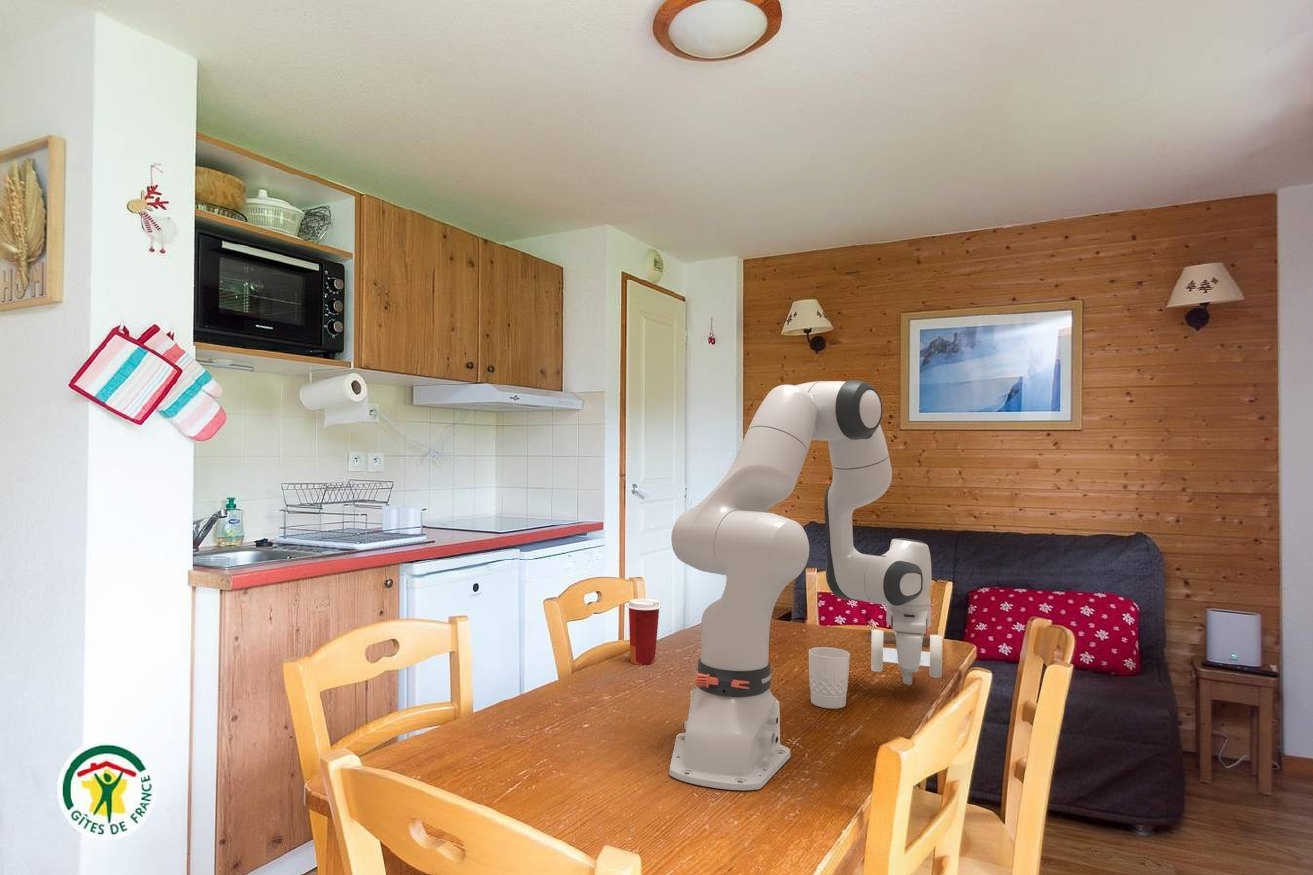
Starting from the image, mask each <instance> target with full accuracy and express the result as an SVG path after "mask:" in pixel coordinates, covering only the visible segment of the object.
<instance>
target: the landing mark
mask: <svg viewBox="0 0 1313 875" xmlns="http://www.w3.org/2000/svg"><path fill="white" fill-rule="evenodd" d="M883 663H887V664H889V663H890V664H898V654H897V648H895V647H894V648H893V647H883ZM898 665H899V664H898ZM919 667H927V668H930V651H922V650H921V658H920V665H919Z"/></svg>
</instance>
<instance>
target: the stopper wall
mask: <svg viewBox="0 0 1313 875" xmlns="http://www.w3.org/2000/svg"><path fill="white" fill-rule="evenodd" d="M871 638H872V630H870V629H869V630H868V632H867V642H871ZM883 644H892V645H897V644H896V636H895V633H894V632H889V631H884V632H883ZM922 646H930V635H926V634H924V635H923V642H922Z"/></svg>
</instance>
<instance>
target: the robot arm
mask: <svg viewBox="0 0 1313 875" xmlns="http://www.w3.org/2000/svg"><path fill="white" fill-rule="evenodd" d="M882 418H883V402H882V399H881V396H880V394H879V392H878V391H877V390H876V389H875V388H874V386H873V385H871V383H869V382H866V381H863V380H862V381H861V380H854V379H850V380H847V381H842V380H835V381H834V380H831V381H830V380H826V381H825V380H818V381H817V380H816V381H809V382H804V383H800V384H799V383H798V384H796V383H793V384H781V385H778V386H776V387H773V388H772V389H771V390H770V391H769V392H768V393H767V395H766V397H764V399H763V400H762V402H761V404H760V405H759V407H758V409H757V410H756V412H755V414H754V416H753V418H752V420H751V421H750V424H749V425H748V426H749V427H748V428H747V431H746V434H745V436H744V438H743V440H742V443H741V445H740V447H739V450H738V451H737V453H736V456H735V458H734V461H733V463H732V465H731V466H730V468H729V470H728V471H727V473H726V474H725V476H724V477H723V478H722V479H721V481H720V482H719V483H718V485H716V486H715V488H713V490H712V491H711V492H710V493H709V494H708V495H707V496H706V497H705V498H704V499H702V501H701V502H699V503H698V504H696V505H695V506H693V507H692V508H690V509H687V510H686V511H684V512H683V513H681V514H680V515H679V516H678V518H677V519H676V520H675V523H673V524H674V525H673V527H672V530H671V546H672V550H673V553H674V555H675V556H676V558H677V559H678V560H679V561H680V562H682V563H684V564H685V565H688V566H689V567H691V568H693V569H696V570H698V571H701V572H704V573H705V572H706V573H709V574H711V573H712V574H717V575H722V576H725V578H726V579H725V582H726V583H725V587H724V590H723V593H722V595H721V597H720V598H719V599H717V600H715V601H713V602H712V603H711V604H710V605H708V606H707V607H706V608H705V609H704V611H703V613H702V616H701V622H700V624H701V627H700V634H701V635H700V658H699V659H698V660H697V667H696V672H695V674H696V680H695V685H696V686H695V687H694V688H693V689H692V690H690V703H689V710H688V714H687V715H688V716H687V719H685V720H684V721H683V725H682V726H683V728H684V730H685V732H680V733H678V734H677V735H676V738H675V742H674V746H673V751H672V756H671V761H670V765H669V771H668V774H669V776H670V777H671V778H675V779H677V780H679V781H682V782H684V783H689V784H692V785H697V786H702V787H707V788H714V789H722V790H731V791H754V790H760V789H762V788H763V787H764V786H765V785H766V783H768V781H770V779H771V778H772V777H773V776H774V775H776V773H777V772H778V771H779V770H780V769H781V768H782V767H783V766H784V765H785V763H787V761H789V759H790V758H791V749H790V748H789V747H787V746H785V745H782V744H781V727H780V725H781V724H780V723H781V718H780V711H781V710H780V702H779V700H778V699H777V698H776V697H775V696H774V695H773V693H772V692H771V689H770V688H771V683H772V681H771V680H772V669H771V667H772V666H771V663H770V662H769V647H770V631H771V630H770V629H771V620H772V616H773V613H774V609H775V605H776V603H777V601H778V600H779V597H780V595H781V593H782V592H783V591H784V589H785V588H786V586H788V585H789V584H790V583H792V582H793V581H794V580H795V579H797V578H798V577H799V575H801V574H802V572H803V571H804V569H805V568H806V565H807V564H808V561H809V556H810V543H809V539H808V535H807V533H806V531H805V529H804V527H803V526H802V525H801V524H800V522H797V521H795V520H794V519H790V518H788V517H786V516H783V515H778V514H776V513H773V512H767V511H768V510H770V508H772V507H773V506H775V505H777V504H779V503H781V502H783V501H784V500H786V499H787V498H788V497H790V496H791V494H792V493H793V491H794V490H795V488H796V485H797V481H798V478H799V477H800V474H801V471H802V469H803V466H804V464H805V460H806V458H807V456H808V452H809V449H810V447H811V443H812V440H813V441H820V442H821V441H822V442H828V450H829V457H830V464H831V470H832V481H831V483H830V484H829V485H828V486H827V488H826V490H825V494H824V500H823V501H824V502H823V504H824V508H823V509H824V523H825V524H824V525H825V526H824V527H825V539H826V540H825V541H826V567H825V580H826V583H827V586H828V588H829V590H830V591H831V593H832V594H833V595H834V596H835V597H836V598H838V599H840V600H851V601H860V602H861V601H862V602H866V603H871V604H874V605H877V604H879V605H884V606H886V620H885V621H886V622H885V623H887V624H888V625H890V627H891V628H892V631H893V633H895V636H896V644H895V645H896V649H897V654H898V668H899V671H902V683H903V684H904V685H912V684H913V675H914V674H913V673H918V672H919V670H920V666H919V665H920V658H921V651H922V650H923V649H922V648H923V647H922V642H923V635H926V634H927V630H928V628H931V626H932V621H931V620H932V600H931V596H930V588H931V586H932V558H931V552H930V548H929V546H928V544H927V543H925V542H924V541H921V540H917V539H911V538H903V537H900V538H899V537H898V538H897V537H896V538H893V539H891V541H890V546H889V549H888V551H886V552H885V553H884V554H881V555H873V554H868V553H867V554H865V553H861V552H859V551H858V550H857V549H856V548H855V546H854V535H853V534H854V533H853V529H854V528H853V513H854V510H856V509H859V508H862V507H865V506H867V505H869V504H871V503H873V502H875V501H877V500H878V499H880V497H882V496H884V494H886V492H887V490H888V489H889V487H890V486H891V483H892V479H893V470H892V464H891V460H890V455H889V450H888V445H887V441H886V437H885V434H884V432H883V428H882V426H881V422H882Z"/></svg>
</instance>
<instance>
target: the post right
mask: <svg viewBox="0 0 1313 875" xmlns="http://www.w3.org/2000/svg"><path fill="white" fill-rule="evenodd" d="M929 636H930V647H929V652H930V667H929V673H928V674H929V677H930V678H932V677H933V679H942V677H943V635H939V634H930V635H929Z"/></svg>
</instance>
